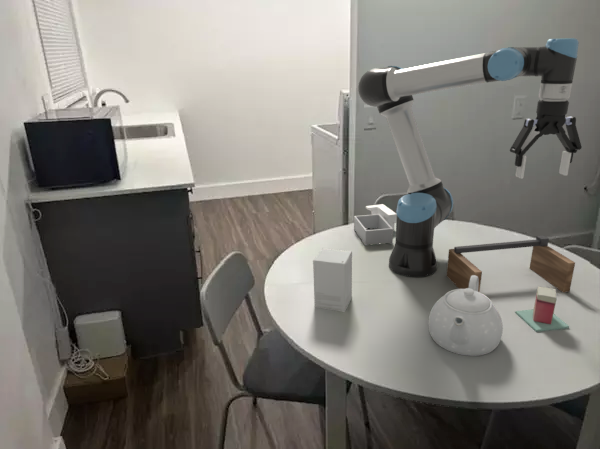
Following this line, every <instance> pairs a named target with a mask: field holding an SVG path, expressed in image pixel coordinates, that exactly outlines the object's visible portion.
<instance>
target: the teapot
mask: <svg viewBox="0 0 600 449" xmlns="http://www.w3.org/2000/svg"><path fill="white" fill-rule="evenodd" d="M478 286H479V278H478V276H475V275H472V276H471V278H470V282H469V288H466V289H459V288H456V289H452V290H449V291H447V292H446V293H445V294H444V295H443V296H441V297H440V298H439V299H438V300H437V301H435V303H434V304H433V306H432V308H431V310H430V312H429V315H428V316H429V317H428V325H427V326H428V332H429V335H430V337H431V338H432V340H433V341H434V342H435V343H436V345H438V346H439V347H441V348H442V349H445V350H446V351H448V352H451V353H454V354H457V355H459V356H460V355H462V356H468V357H472V356H473V357H477V356H478V357H480V356H485V355H487V354H490V353H491V352H493V351H494V350H496V348H497V347H498V346H499V344H500V342H501V340H502V336H503V329H504V328H503V321H502V317H501V315H500V314H501V313H500V312H499V310H498V309H497V307H496V306H495V305H494V303H493V302H492V299H490V298H489V297H488V296H487V295H485V294H484V293H482V292H481V291H480V292H478Z"/></svg>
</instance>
